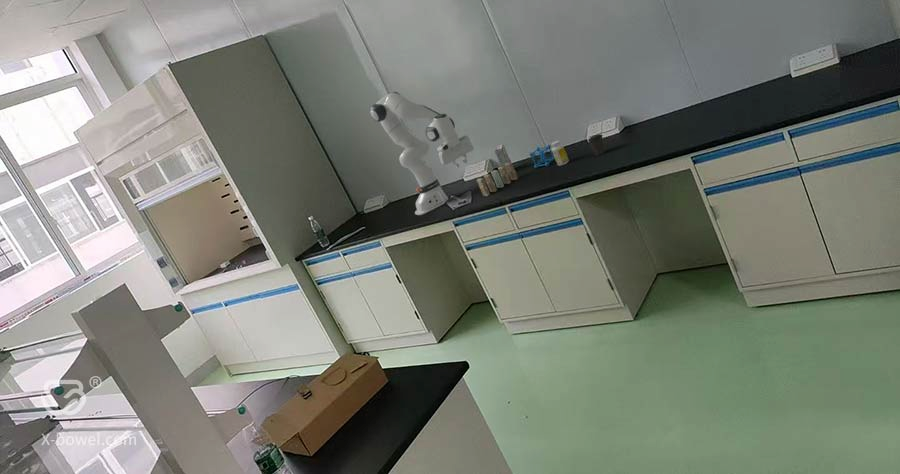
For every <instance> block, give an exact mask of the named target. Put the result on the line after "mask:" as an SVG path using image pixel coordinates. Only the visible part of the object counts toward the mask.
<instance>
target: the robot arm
mask: <svg viewBox="0 0 900 474" xmlns="http://www.w3.org/2000/svg"><path fill="white" fill-rule="evenodd" d="M369 114H370V116H371V118H372V119H373V120H374V121H375V122H379V123H380V124H381V127H382V128H383V129H384V131H385V133H386V134H387V135H388V136H389V138H390V140H391V141H393V143H394V144H395V145H397V146H400V147H402V148H404V150H403V151H402V152H401V154H400V155H399V163H400V165H401V167H403V168H406V169H408V170H409V171H410V172H411V173H412V175H414V177H415V179H416V182H417V183H418V185H419V187H417V188H415V191H416V192H418V193H419V195H418V198H417V199H416V201H415V208H416V210H415V211H414V215H417V216H422V215H425V214H427V213H428V212H431V211H433V210H435V209H436V208H439V207H441V206H442V205H444V204H446V202H447V201H448V200H449V197H448V196H447V195H446V194H445V192H444V190H443V189H442V186H441V184H440V181H439V180H438V178H437V177H436V174H435V173H434V171H433V168H432V167H431V166H428V165H426V163H425V162H424V160H425V159H426V158H427V157H428V155H429V154H430V152H431V147H430V144H429V143H428V142H427V141H426V140H422V139H419V138H418V137H416V136H415V135H413V133H411V132H410V131H409V130H408V128H407V127H406V125H405V124H404V123H403V122H402V121H401V120H403V121H412V120H413V121H414V120H416V119H426V120H429V121H430V122H431V123H430V124H429V125H428V126H426V128H425V136H426V137H427V139H428V140H429V141H430V142H433V143H434V142H437V141H439V140H441V141H442V143H441V144H439V146H438V147H437V148H436V150H437V152H438V159H439V160H440V163H441V165H444V166H446V165H448V164H450V163H452V164H453V165H454V166H455V168H456V169H457V168H459V167H460V164H459V163H456V160H457V159H459V158H461V157H463V160H462V162H463V164H467V163H468V160H467V157H468V156H467V154H468V153H470V152H472V151H473V150H474V146H473V144H472V143H471V140H470V138H469V136H468V135H463V136H461V137H459V135H458V133H457V132H456V131H455V122H454V120H453V119H452V117H449V115H448V114H446V113H439V112H437V111H435V110H433V109H432V108H430V107H428V106H426V105H422V104H419V103H415V102H413V101H411V100H409V99H408V98H406V96H404V95H401V93H399V92H397V91H392V92H390V93H388V94H386V95H385V96H383V97H382V98H380V99H379V100H378V101H376V103H374V104H373V105H372V106H370V107H369ZM400 119H401V120H400Z"/></svg>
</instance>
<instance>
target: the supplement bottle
mask: <svg viewBox="0 0 900 474" xmlns="http://www.w3.org/2000/svg"><path fill="white" fill-rule="evenodd" d="M550 145H551V147H552V148H551V152H552V154H553V157H555V162H556V164H557V166H559V167H560V166H563V165H566V164H568V163H569V162H570V160H569V157H568V154H567V152H566V149H565V148H564V144H561V142H560V140H556V141H553V142H551V144H550Z"/></svg>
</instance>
